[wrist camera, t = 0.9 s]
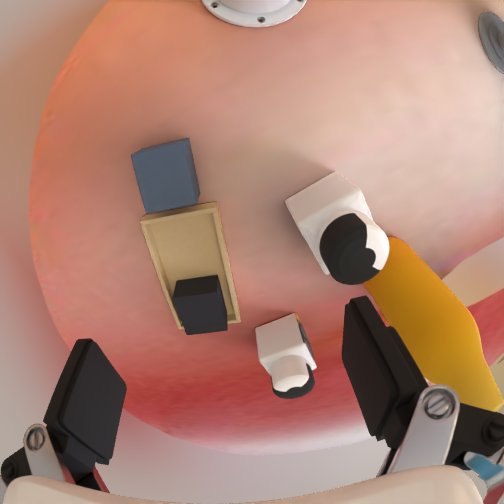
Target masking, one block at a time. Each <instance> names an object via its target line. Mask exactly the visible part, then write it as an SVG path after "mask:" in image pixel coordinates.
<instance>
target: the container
mask: <svg viewBox="0 0 504 504" xmlns="http://www.w3.org/2000/svg"><path fill="white" fill-rule="evenodd" d="M285 204H286V206H287V208H288V210H289V212H290V214H291V216H292V217H293V219H294V221H295V223H296V225H297V227H298V229H299V230H300V232H301V234H302V235H303V237H304V239H305V240H306V242H307V244H308V246H309V247H310V249H311V251H312V253H313V254H314V256H315V258H316V260H317V261H318V263H319V265H320V267H321V268H322V270H323V272H324V273H325V274H326V275H329V274H331V276H332V277H333V278H334V279H335V280H336V281H338V282H340V283H343V284H347V285H355V284H361V283H364V282H366V281H368V280H370V279H372V278H373V277H374V276H376V275H377V274H378V273H379V272H380V271H381V269H382V268H383V267H384V265H385V263H386V261H387V258H388V254H389V241H388V238H387V236H386V234H385V233H384V232H383V231H382V230H381V229H380V228H379V227H378V226H377V225H376V224H375V223H374V220H373V218H372V215H371V213H370V210H369V208H368V205H367V203H366V201H365V198H364V196H363V194H362V191H361V189H360V188H359V187H357V186H356V185H354V184H353V183H352V182H350V181H349V180H347V179H346V178H345V177H343V176H342V175H340V174H339V173H338V172H333V173H331V174H329V175H327V176H326V177H324V178H322V179H320V180H319V181H317V182H315V183H313V184H312V185H310V186H308V187H307V188H305V189H303V190H301V191H300V192H298V193H296V194H294V195H293V196H291V197H289V198H288V199H286V200H285Z"/></svg>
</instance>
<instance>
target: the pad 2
mask: <svg viewBox="0 0 504 504" xmlns="http://www.w3.org/2000/svg"><path fill="white" fill-rule="evenodd" d="M172 299H173V301H174V304H175V307H176V309H177V312H178V314H179V317H180V319H181V322H182V324H183V327H184V329H185V332H186V334H187V335H193V334H202V333H211V332H219V331H227V309H226V305H225V301H224V297H223V293H222V289H221V285H220V281H219V277H218V275H211V276H204V277H197V278H191V279H184V280H177V281H176V285H175V289H174V293H173V297H172Z"/></svg>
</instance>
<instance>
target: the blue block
mask: <svg viewBox="0 0 504 504" xmlns="http://www.w3.org/2000/svg"><path fill="white" fill-rule="evenodd" d="M131 158H132V162H133V166H134V170H135V174H136V178H137V182H138V186H139V189H140V193H141V197H142V200H143V204H144V208H145V211H146V214H148V213H153V212H158V211H163V210H168V209H173V208H178V207H183V206H189V205H194V204H197V201H198V198H199V195H200V190H199V185H198V180H197V175H196V170H195V165H194V160H193V155H192V150H191V145H190V140H189V138H186V139H181V140H176V141H172V142H168V143H163V144H159V145H155V146H151V147H147V148H144V149H141V150H139V151H137V152H135V153H134V154H132V155H131Z"/></svg>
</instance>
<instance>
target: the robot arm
mask: <svg viewBox="0 0 504 504" xmlns="http://www.w3.org/2000/svg"><path fill="white" fill-rule="evenodd" d="M299 1H300V2H298V1H296V0H202V2H203V4H204V5H205V7H206V8H207V9H208V10H209V11H210V12H211V13H212V14H213V15H214V16H216V17H218V18H220V19H221V20H223V21H226V22H228V23H231V24H234V25H238V26H242V27H252V28H256V27H268V26H273V25H277V24H280V23H282V22H285V21H287V20H288V19H290V18H292V17H293V16H294V15H296V14H297V13H298V12H299V11H300V10H301V9H302V7H303V6H304V4H305V3H306V1H307V0H299ZM213 6H217V8H213ZM259 20H262V21H263V22H262V23H260V22H259ZM342 360H343V363H344V366H345V368H346V371H347V374H348V376H349V379H350V381H351V384H352V387H353V389H354V392H355V395H356V397H357V400H358V403H359V406H360V408H361V411H362V414H363V417H364V419H365V422H366V425H367V428H368V431H369V433H370V435H371V436H376V439H377V441H380V440H383V439H385V440H386V443H387V445H388V447H390V449H389V451H388V453H387V455H386V457H385V459H384V462H383V464H382V466H381V468H380V470H379V472H378V474H377V476H376V478H373V479H369V480H366V481H362V482H358V483H355V484H352V485H348V486H344V487H340V488H336V489H332V490H328V491H323V492H319V493H313V494H308V495H303V496H298V497H292V498H286V499H278V500H270V501H261V502H250V503H232V504H504V415H503V414H501V413H497V412H494V411H490V410H486V409H482V408H478V407H475V406H471V405H467V404H464V403H460V400H459V397H458V395H457V393H456V392H455V390H453V389H452V388H451V387H449V386H446V385H443V384H436V385H431V386H429V385H428V384H427V382H426V380H425V378H424V376H423V375H422V373H421V371H420V369H419V367H418V366H417V364H416V362H415V361H414V359H413V357H412V355H411V354H410V352H409V350H408V349H407V347H406V345H405V344H404V342H403V340H402V339H401V337H400V335H399V334H398V332H397V331H396V329H395V328H394V327H392V326H389V327H386V326H385V324H384V322H383V321H382V319H381V317H380V316H379V314H378V313H377V311H376V309H375V308H374V306H373V305H372V303H371V301H370V300H369V298H368V297H367V296H361V297H357V298H353V299H350V302H349V304H346V305H345V316H344V331H343V344H342ZM126 390H127V387H126V384H125V382H124V381H123V379H122V378H121V377H120V375H119V374H118V373H117V371H116V370H115V369H114V367H113V366H112V364H111V363H110V362H109V360H108V359H107V357H106V356H105V355H104V353H103V352H102V350H101V349H100V347H99V346H98V344H97V343H96V342H94V341H93V340H92V339H78V340H77V341H76V343H75V345H74V347H73V349H72V351H71V354H70V356H69V358H68V360H67V362H66V365H65V367H64V369H63V372H62V374H61V376H60V378H59V381H58V383H57V386H56V388H55V391H54V393H53V396H52V398H51V401H50V403H49V406H48V409H47V411H46V414H45V417H44V420H43V422H44V423H45V424H47V426H46V427H45V426H43V425H42V424H34V425H31V426H30V427H29V428H28V429H27V431H26V432H25V435H24V439H23V442H24V447H23V448H21V449H20V450H18V451H17V452H15V453H14V454H12V455H11V456H9V457H8V458H7V459H5V460H4V462H3V464H2V466H1V475H0V504H189V503H174V502H162V501H153V500H145V499H137V498H131V497H126V496H120V495H115V494H110V492H109V490H108V489H107V487H106V485H105V484H104V482H103V481H102V478H101V477H100V475H99V473H98V471H97V469H96V468H95V462H97V463H99V464H105V465H108V464H109V460H110V459H111V458H112V456H113V451H114V446H115V440H116V435H117V430H118V426H119V421H120V416H121V412H122V408H123V403H124V399H125V395H126ZM463 470H473V471H475V472H476V473H478V474H479V476H478V477H480V478H481V479H482V480H484V481H485V483H486V484H487V488H488V489H487V495H486V497H485V499H484V501H482V499H481V497H480V494H479V492H478V490H477V488H476V486H475V484H474V483H473V481H472V480H471V478H470V477H469V476H468V474H467V473H466V472H465V471H463ZM190 504H191V503H190Z"/></svg>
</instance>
